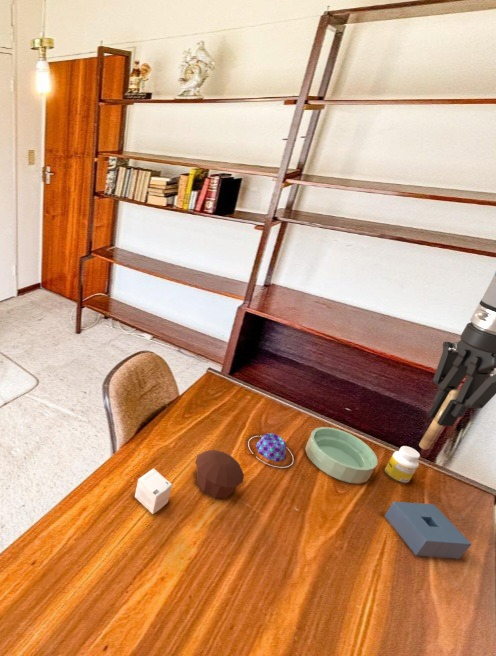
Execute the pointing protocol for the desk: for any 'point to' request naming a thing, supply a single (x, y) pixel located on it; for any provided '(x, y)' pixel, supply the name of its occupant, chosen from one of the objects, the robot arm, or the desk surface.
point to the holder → (427, 530)
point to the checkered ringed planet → (272, 448)
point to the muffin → (218, 473)
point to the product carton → (153, 491)
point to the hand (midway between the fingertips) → (440, 420)
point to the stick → (434, 426)
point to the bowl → (341, 455)
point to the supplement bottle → (403, 464)
